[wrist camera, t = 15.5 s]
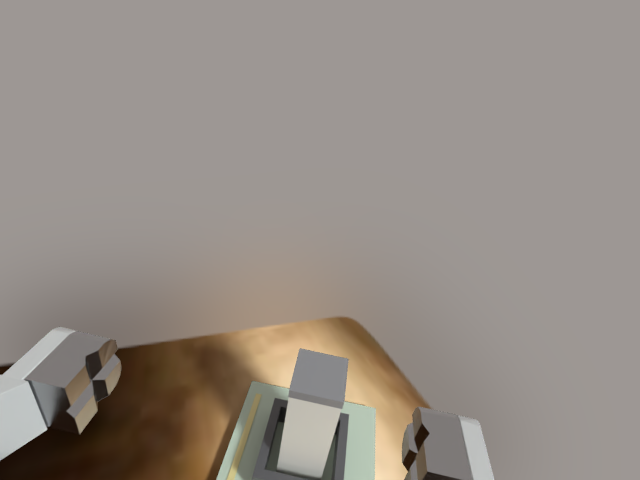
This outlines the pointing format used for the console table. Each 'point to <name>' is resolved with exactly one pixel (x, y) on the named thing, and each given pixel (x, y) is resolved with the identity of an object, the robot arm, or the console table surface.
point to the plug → (312, 413)
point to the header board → (266, 435)
